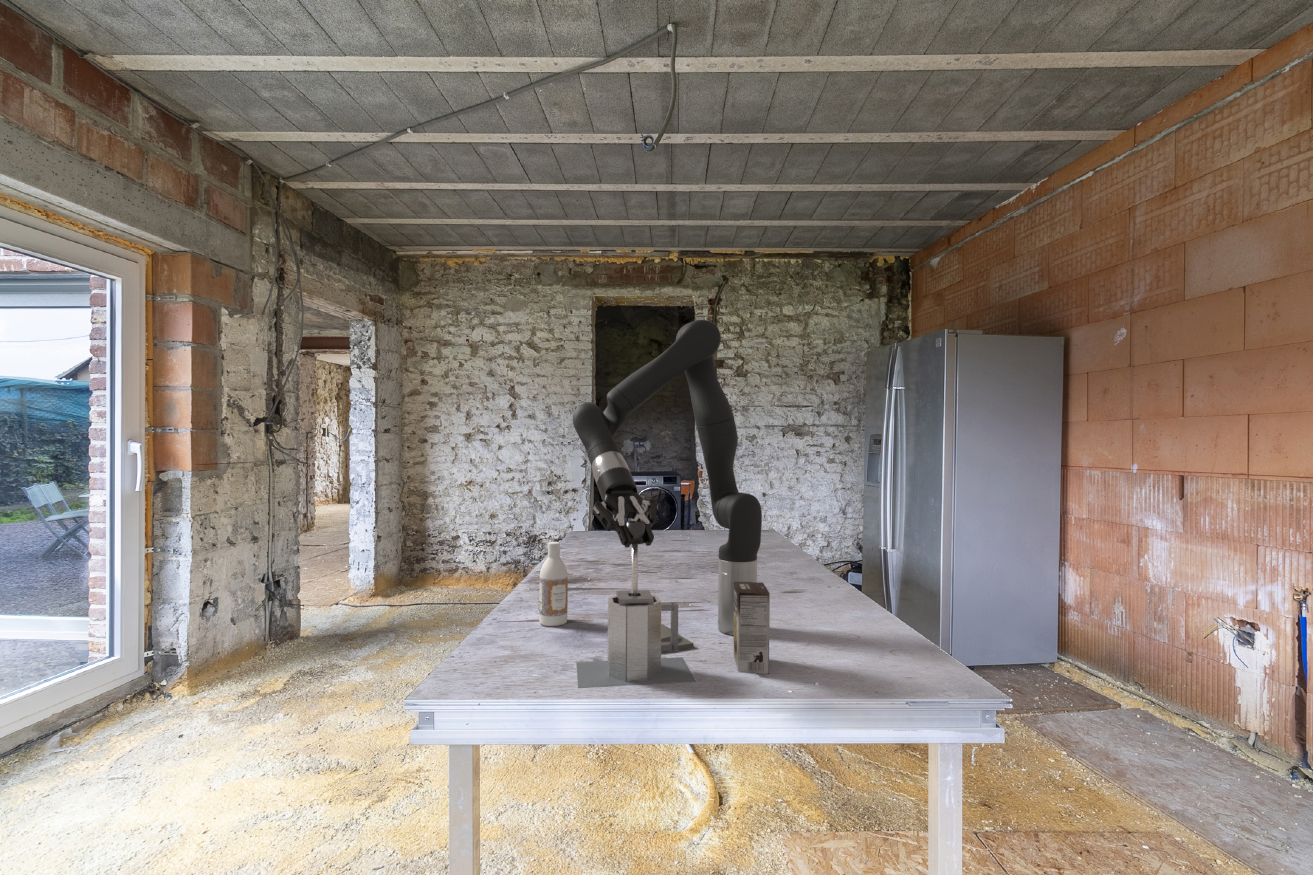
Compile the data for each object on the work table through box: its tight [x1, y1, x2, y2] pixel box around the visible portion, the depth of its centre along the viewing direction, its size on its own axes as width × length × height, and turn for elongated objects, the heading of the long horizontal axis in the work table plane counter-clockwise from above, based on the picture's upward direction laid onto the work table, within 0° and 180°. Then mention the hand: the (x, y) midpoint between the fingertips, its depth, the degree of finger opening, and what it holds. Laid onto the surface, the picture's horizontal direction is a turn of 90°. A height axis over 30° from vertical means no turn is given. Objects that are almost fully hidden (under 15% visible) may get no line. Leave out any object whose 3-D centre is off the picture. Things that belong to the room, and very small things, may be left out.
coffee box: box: [733, 581, 771, 675], centre depth 124 cm, size 9×6×16 cm
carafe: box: [607, 589, 679, 682], centre depth 120 cm, size 14×10×15 cm
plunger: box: [624, 520, 645, 606], centre depth 119 cm, size 7×7×21 cm
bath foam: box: [538, 541, 569, 627], centre depth 152 cm, size 7×7×20 cm
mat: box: [576, 656, 697, 689], centre depth 119 cm, size 22×13×1 cm, turn 99°
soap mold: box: [661, 623, 695, 655], centre depth 140 cm, size 10×20×4 cm, turn 26°
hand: (639, 543), depth 118 cm, fingers closed on plunger, 4 cm apart
